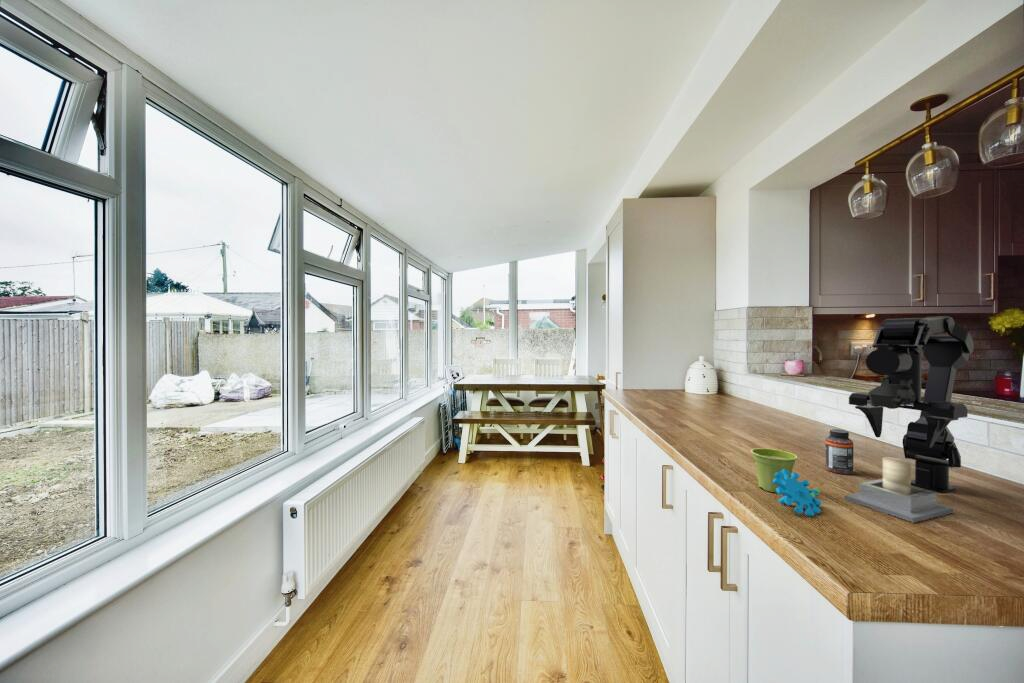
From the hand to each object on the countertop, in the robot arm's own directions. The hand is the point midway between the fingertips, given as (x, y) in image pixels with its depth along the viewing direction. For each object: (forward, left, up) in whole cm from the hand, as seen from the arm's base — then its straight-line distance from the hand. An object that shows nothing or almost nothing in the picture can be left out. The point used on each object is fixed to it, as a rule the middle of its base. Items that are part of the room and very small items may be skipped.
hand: (902, 441), depth 89 cm
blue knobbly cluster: (+28, -4, -13) cm, 31 cm away
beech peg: (+6, +2, -12) cm, 14 cm away
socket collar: (+6, +2, -12) cm, 14 cm away
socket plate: (+6, +2, -13) cm, 14 cm away
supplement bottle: (-7, -17, -13) cm, 23 cm away
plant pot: (+22, -14, -13) cm, 29 cm away
